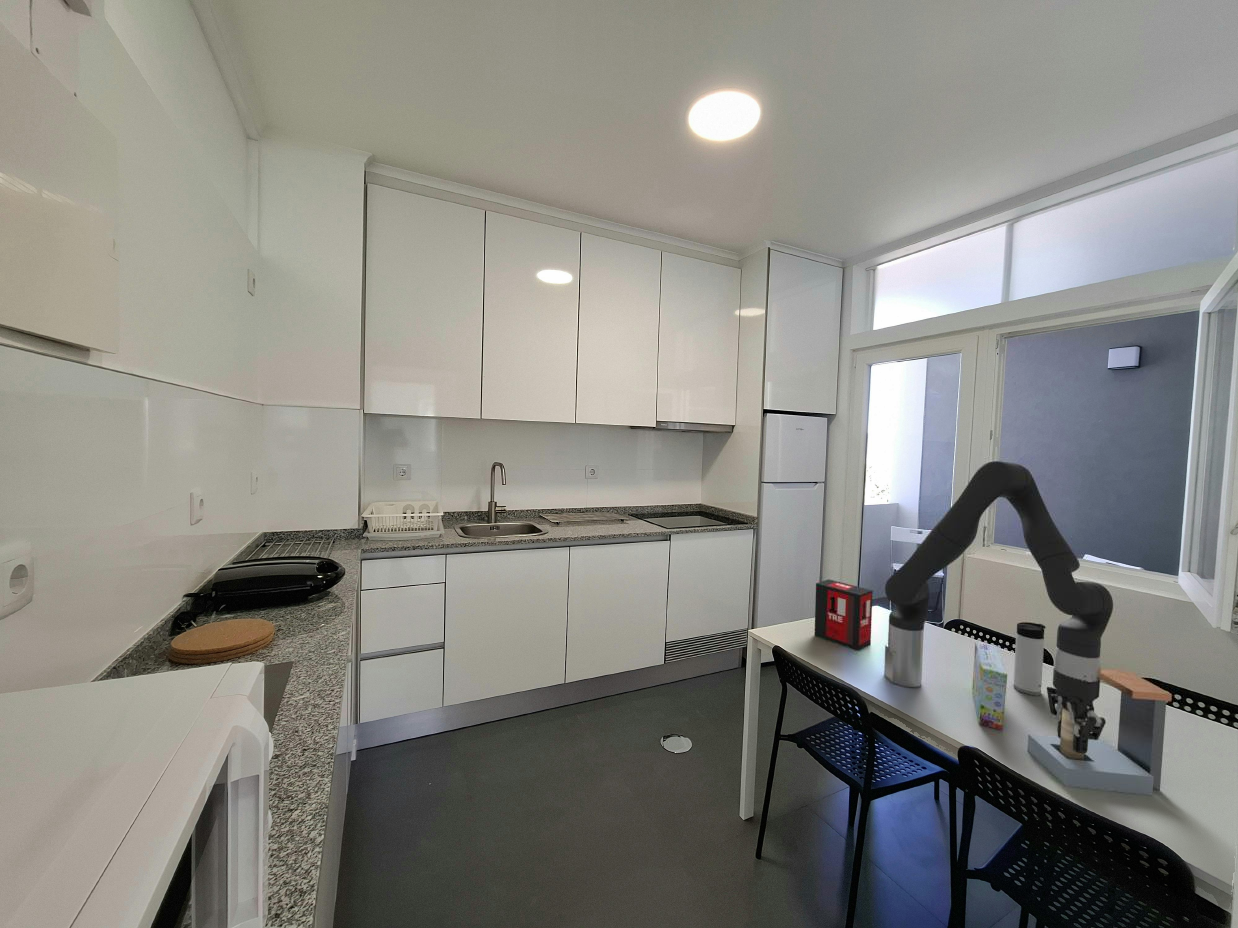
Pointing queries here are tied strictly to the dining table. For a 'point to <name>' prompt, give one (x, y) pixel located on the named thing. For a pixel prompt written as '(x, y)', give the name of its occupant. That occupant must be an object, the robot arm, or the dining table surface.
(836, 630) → the cleaning product box
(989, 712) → the snack box
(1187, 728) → the dining table surface
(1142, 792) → the socket block
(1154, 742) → the orange-capped grey pillar
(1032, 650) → the travel mug
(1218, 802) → the dining table surface
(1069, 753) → the peg
